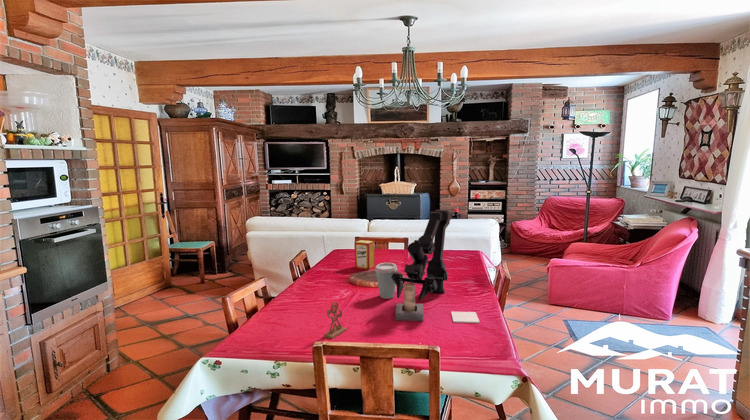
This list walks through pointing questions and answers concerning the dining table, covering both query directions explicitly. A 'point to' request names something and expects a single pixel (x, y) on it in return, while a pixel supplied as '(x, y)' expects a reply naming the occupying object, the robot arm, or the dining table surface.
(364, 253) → the baking soda box
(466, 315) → the white mat
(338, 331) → the gingerbread man figurine
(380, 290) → the disposable coffee cup
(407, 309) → the birch peg
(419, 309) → the socket block
